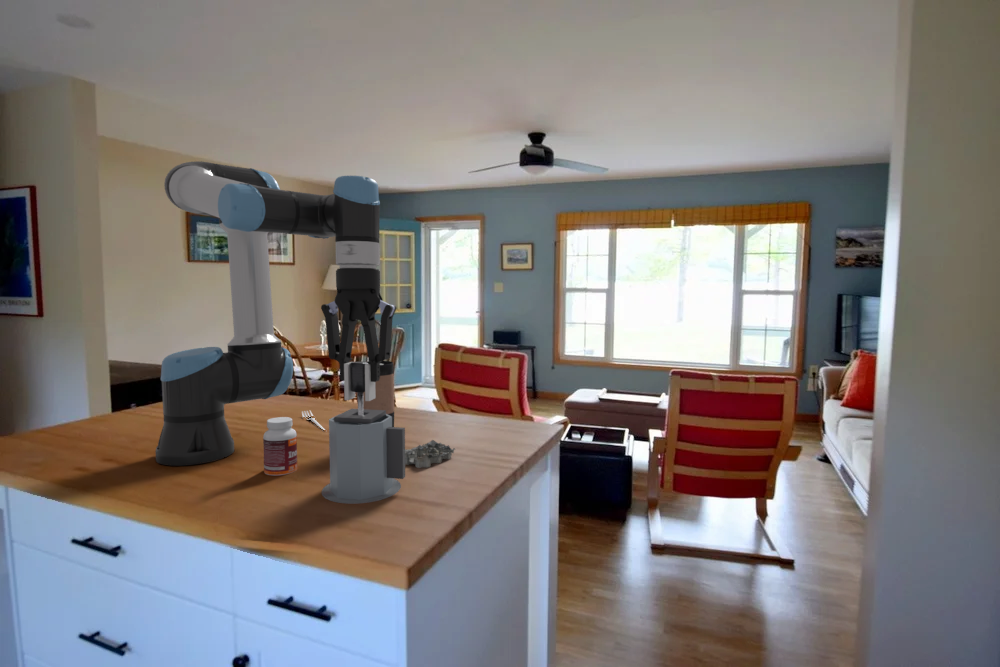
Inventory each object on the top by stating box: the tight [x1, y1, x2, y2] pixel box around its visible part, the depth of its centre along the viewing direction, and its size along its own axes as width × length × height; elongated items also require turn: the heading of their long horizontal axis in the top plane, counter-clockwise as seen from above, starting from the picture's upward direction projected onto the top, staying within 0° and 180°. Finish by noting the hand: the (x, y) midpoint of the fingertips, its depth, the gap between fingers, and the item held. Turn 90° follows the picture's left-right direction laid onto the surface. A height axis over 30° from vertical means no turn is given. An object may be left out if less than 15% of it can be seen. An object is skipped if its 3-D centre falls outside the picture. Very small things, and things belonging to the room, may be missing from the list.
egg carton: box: [405, 439, 456, 469], centre depth 116 cm, size 11×8×4 cm
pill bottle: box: [262, 416, 298, 476], centre depth 108 cm, size 6×6×11 cm
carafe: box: [328, 408, 406, 500], centre depth 98 cm, size 13×10×14 cm
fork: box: [301, 410, 326, 431], centre depth 149 cm, size 3×20×2 cm, turn 33°
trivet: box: [321, 478, 402, 505], centre depth 99 cm, size 14×14×1 cm
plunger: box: [351, 361, 368, 425], centre depth 98 cm, size 8×8×21 cm
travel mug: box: [363, 360, 395, 427], centre depth 125 cm, size 8×8×20 cm
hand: (360, 398), depth 98 cm, fingers closed on plunger, 3 cm apart
